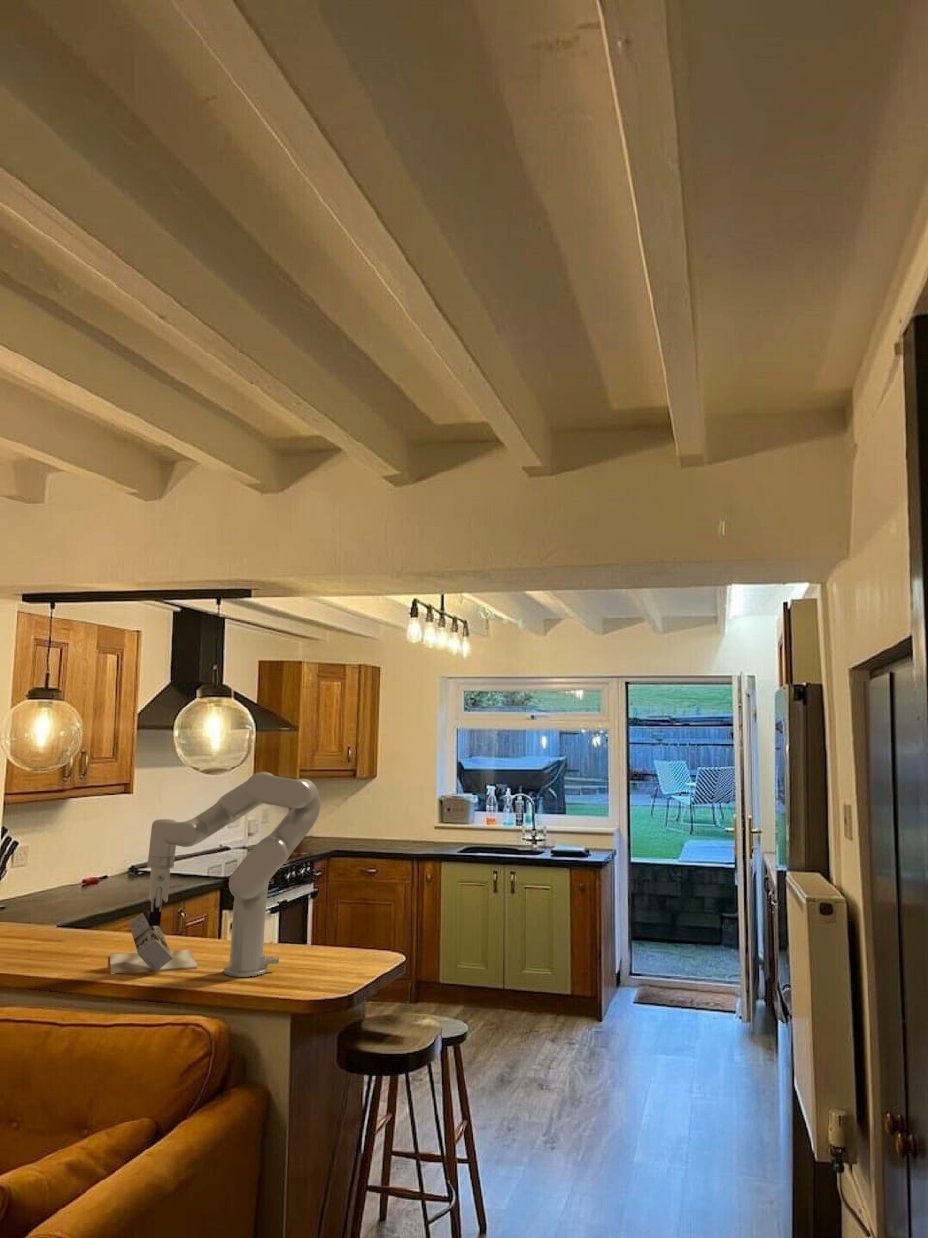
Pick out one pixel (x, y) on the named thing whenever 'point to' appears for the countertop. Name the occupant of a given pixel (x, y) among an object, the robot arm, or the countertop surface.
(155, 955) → the coffee box
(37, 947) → the countertop surface
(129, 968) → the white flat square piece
